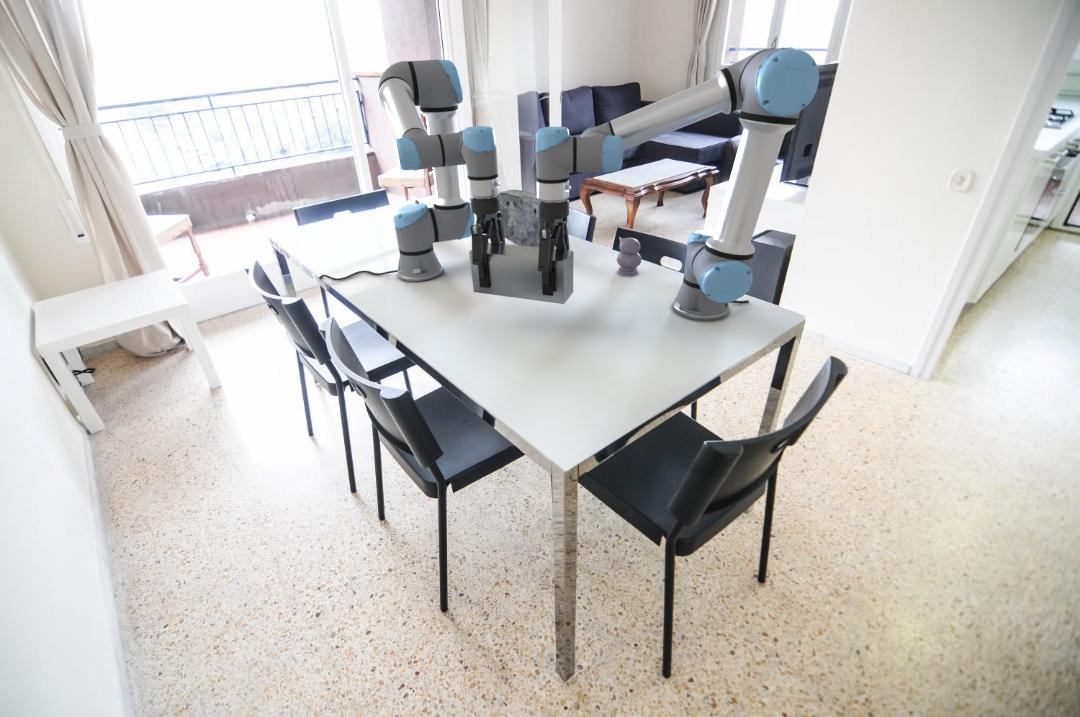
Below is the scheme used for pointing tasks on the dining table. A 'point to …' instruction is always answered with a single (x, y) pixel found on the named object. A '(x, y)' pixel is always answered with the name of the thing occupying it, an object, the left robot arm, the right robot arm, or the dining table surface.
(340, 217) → the dining table surface
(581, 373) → the dining table surface
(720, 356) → the dining table surface
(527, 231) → the concrete block
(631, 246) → the cat figurine
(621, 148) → the right robot arm
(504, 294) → the box
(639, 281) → the dining table surface
